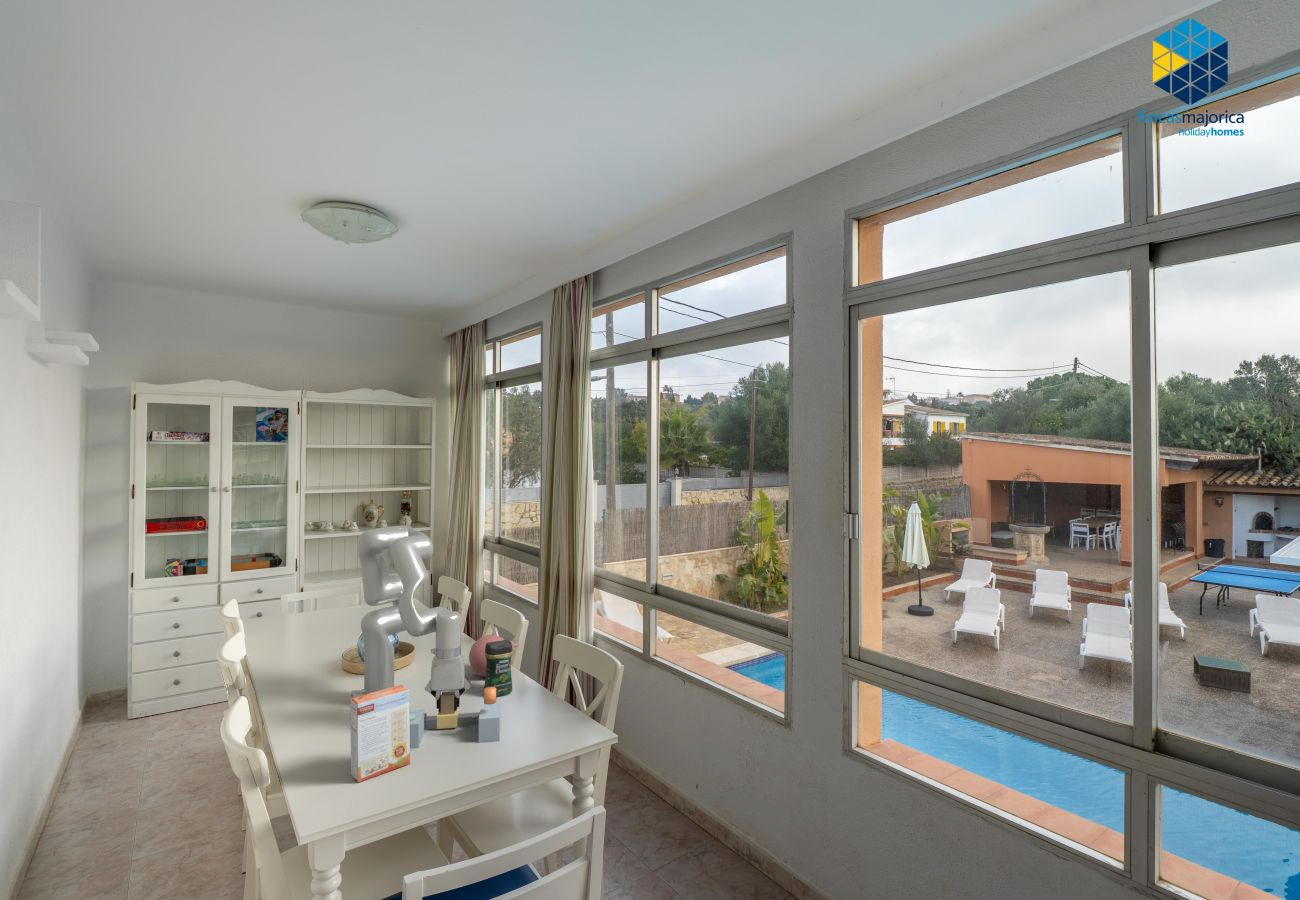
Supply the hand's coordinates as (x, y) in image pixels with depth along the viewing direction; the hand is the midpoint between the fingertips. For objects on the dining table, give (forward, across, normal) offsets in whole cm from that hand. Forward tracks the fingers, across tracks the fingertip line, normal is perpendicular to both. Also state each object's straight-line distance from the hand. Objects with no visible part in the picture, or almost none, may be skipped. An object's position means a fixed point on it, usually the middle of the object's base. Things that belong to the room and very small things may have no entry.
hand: (448, 709), depth 195 cm
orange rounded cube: (-5, +13, -9) cm, 17 cm away
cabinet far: (+5, +13, -8) cm, 16 cm away
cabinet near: (+5, -10, -8) cm, 14 cm away
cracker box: (+6, -15, -24) cm, 29 cm away
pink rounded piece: (+5, +12, +43) cm, 45 cm away
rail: (+5, +2, 0) cm, 6 cm away
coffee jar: (+5, +14, +24) cm, 29 cm away
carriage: (+5, 0, 0) cm, 5 cm away
